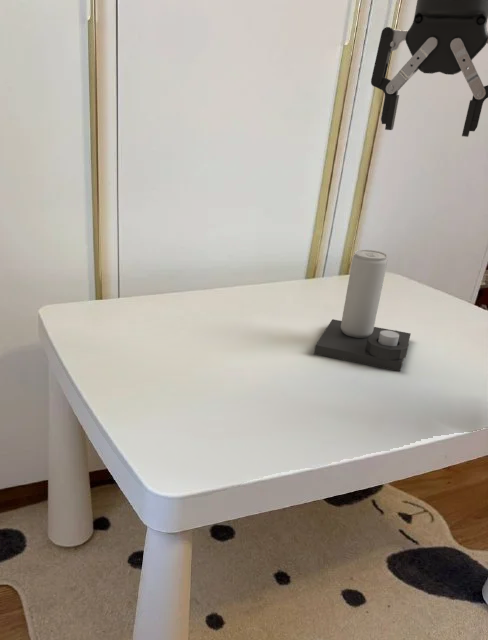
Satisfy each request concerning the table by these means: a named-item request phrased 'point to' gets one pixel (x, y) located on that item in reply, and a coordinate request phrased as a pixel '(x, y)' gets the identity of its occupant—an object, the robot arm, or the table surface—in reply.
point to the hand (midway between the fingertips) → (426, 132)
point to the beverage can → (363, 293)
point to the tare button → (388, 338)
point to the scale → (362, 347)
